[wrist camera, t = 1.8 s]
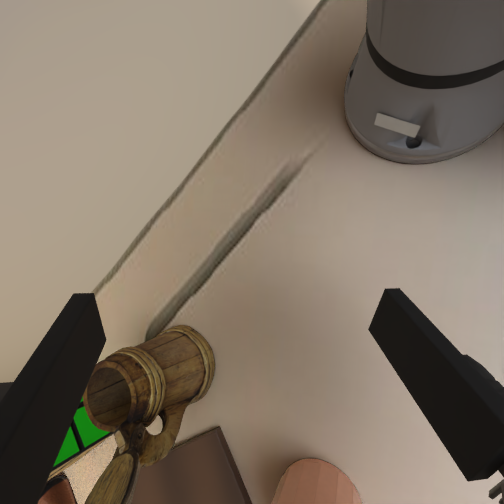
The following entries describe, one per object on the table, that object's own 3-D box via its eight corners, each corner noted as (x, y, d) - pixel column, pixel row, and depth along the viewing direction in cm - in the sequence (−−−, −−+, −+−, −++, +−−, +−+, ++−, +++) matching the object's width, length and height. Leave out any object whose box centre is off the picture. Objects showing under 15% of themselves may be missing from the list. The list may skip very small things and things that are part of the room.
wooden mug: (196, 452, 32) (21, 639, 15) (142, 352, 36) (-42, 411, 19) (252, 409, 30) (125, 567, 13) (188, 310, 34) (30, 335, 18)
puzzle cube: (47, 398, 41) (-43, 431, 32) (89, 362, 39) (6, 386, 30) (71, 465, 38) (-21, 524, 29) (118, 430, 36) (36, 481, 27)
